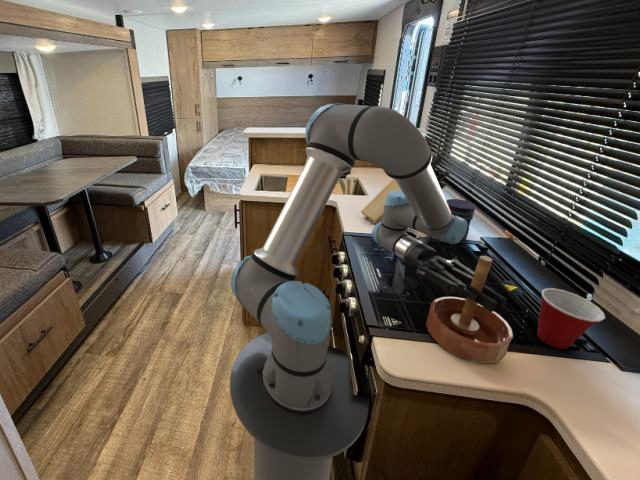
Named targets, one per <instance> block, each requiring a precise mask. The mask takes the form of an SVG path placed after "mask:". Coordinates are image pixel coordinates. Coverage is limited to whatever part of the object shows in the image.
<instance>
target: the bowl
mask: <svg viewBox="0 0 640 480" xmlns="http://www.w3.org/2000/svg"><path fill="white" fill-rule="evenodd" d="M465 301H466V298H464V297H459V296H441V297H438V298H435V299H434V300H433V301H432V302H431V303H430V306H429V310H428V313H427V317H426V320H425V326H426V329H427V332H428V333H429V335H430V336H431V337H432V339H433V340H434V341H435V342H436V343H438V344H439V345H440V346H441V347H442V348H443V349H445V350H447V351H448V352H451V353H452V354H454V355H455V356H457V357H460V358H463V359H465V360H468V361H472V362H475V363H476V362H477V363H481V364H490V363H491V364H494V363H497V362H499V361H502V360H504V358H505V356H506V355H507V354H508V353H507V352H508V350H509V349H510V346H511V343H512V341H513V339H514V334H513V329H512V327H511V326H510V325H509V323H508V321H507V320H505V319H504V318H503V317H502V316H501V315H500V314H499V313H497V312H496V311H495V310H494V311H493V312H490V311H489V310H487V309H486V308H484V307H483V306H481V305H480V304H477V307H476V310H475V313H474V316H473V319H474V320H475V321H476V322H477V323H478V324H479V330H478V332H477V333H476V334H465V333H462V332H460V331H458V330H457V329H455V328H454V327H453V326H452V325H451V323H450V319H451V316H452V315H453V314H461V313H462V310H463V307H464V304H465Z"/></svg>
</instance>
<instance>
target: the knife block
mask: <svg viewBox="0 0 640 480" xmlns="http://www.w3.org/2000/svg"><path fill="white" fill-rule="evenodd" d="M441 162H442V158H440V157H439V156H437V157H435V155H434V154H432V160H431V163H430V165H431V167H432V169H433V172H434V174H435V175H436V174H437V173H439V174H438V176H436V179H437V181H438V183H439V186H440V188H441V190H443V189H444V188H446V187H447V183H444V182H443V181H444V180H445V179H446V177H448V176H449V175H450V174H451V172H449V171H448V170H446V171H444V172H442V170H440V169H436V167H437V166H438V165H439V164H440V163H441ZM392 191H402V190H401V189H400V187H399V185H398V183H397V182H396V180H395V179H393V178H391V180H390V181H389V182H388V183H387V184H386V186H384V187H383V188H382V190H380V191H379V192H378V193H377V195H375V196H374V197H373V198H372V199H371V200H370V201H369V202H368V204H367V205H366V206H365V207H363V208H362V209H361V210H360V213H361V214H362V216H364V215H365V216H364V217H366V218H367V217H368V218H369V219H368V218H367V219H368V220H369V221H371V220H372V221H371V222H372V223H374V222H375V223H374V224H375V225H376V224H378V223H380V222H382V218H383V212H384V204H385V201H386V197H387V194H388V193H389V192H392Z"/></svg>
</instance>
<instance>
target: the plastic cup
mask: <svg viewBox="0 0 640 480" xmlns="http://www.w3.org/2000/svg"><path fill="white" fill-rule="evenodd" d="M539 311H540V312H539V316H538V325H537V332H536V334H537V337H538V338H539V340H540V341H542V342H543V343H544V344H546V345H548V346H550V347H552V348H554V349H560V350H567V349H568V348H569V347H571V346H572V345H573V344H574V343H575V342H576V341H578V340H579V339H580V337H581V336H582V335H584V334H585V333H586V332H587V330H589V329H590V328H591V327H592V326H594V324H596V323H600V322H602V321H603V320H605V319H606V315H605V313H604V311H602V309H601V308H600V307H599V306H597V305H596V304H594V303H593V302H591V301H590V300H588V299H586V298H584V297H582V296H580V295H578V294H576V293H573V292H570V291H568V290H564V289H559V288H555V287H547V288H544V289H542V290H541V306H540V310H539Z"/></svg>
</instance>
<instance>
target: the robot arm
mask: <svg viewBox="0 0 640 480" xmlns="http://www.w3.org/2000/svg"><path fill="white" fill-rule="evenodd" d="M305 133H306V135H305V137H304V138H305V142H306V144H307V146H306V148H305V153H306V156H307V160H306V161H305V164H304V166H303V167H302V169H301V172H300V174H299V175H298V178H297V179H296V182H295V184H294V185H293V188H292V189H291V192H290V193H289V196H288V197H287V199H286V201H285V203H284V205H283V207H282V209H281V211H280V213H279V215H278V217H277V219H276V221H275V223H274V225H273V227H272V228H271V231H270V233H269V234H268V237H267V239H266V240H265V242H264V244H263V246H262V247H261V248H260V247H259V248H258V249H255V250H254V251H253V253H252V255H248V256H245V257H243V260H240V261H239V262H237V264H236V266H235V267H234V268H233V271H232V273H231V277H230V288H231V291H232V294H233V295H234V297H235V298H236V299H237V301H238V303H239V304H240V306H241V307H243V308H245V310H246V311H247V312H248V313H249V314H250V315H251V316H252V317H253V318H254V319H255V320H256V321H257V322H258V324H260V326H261V327H263V329H264V330H265V331H266V333H269V334H270V335H271V337H272V350H271V352H270V354H269V356H268V358H267V360H266V363H265V366H262V367H258V368H257V369H256V370H257V372H262V371H263V383H264V387H265V390H266V392H267V394H268V396H269V397H270V398H271V400H272V401H273V402H274V403H275V404H276V405H278V406H279V407H280V408H282V409H284V410H286V411H288V412H291V413H295V414H310V413H313V412H316V411H318V410H320V409H321V408H322V407H324V406H325V405H326V403H327V402H328V400H329V398H330V395H331V391H332V377H331V372H330V369H329V366H328V363H327V360H326V357H327V349H328V346H329V342H330V341H329V340H330V334H331V329H332V309H331V304H330V302H329V300H328V298H327V297H326V295H325V294H324V293H323V292H322V291H321V290H320V289H319V288H317V286H314V285H313V284H310V283H308V282H305V283H302V281H301V280H295V279H296V278H297V276H298V274H299V273H298V270H297V266H296V265H297V264H296V263H297V262H298V259H299V258H300V256H301V254H302V252H303V250H304V248H305V246H306V244H307V243H308V240H309V239H310V236H311V235H312V232H313V231H314V228H315V227H316V225H317V223H318V221H319V219H320V217H321V215H322V213H323V211H324V210H325V207H326V205H327V204H328V201H329V199H330V198H331V195H332V194H333V192H334V190H335V188H336V186H337V184H338V183H339V180H340V179H341V177H342V175H343V174H345V173H348V172H351V171H352V169H353V168H354V166H355V164H356V163H357V161H359V162H364V163H369V164H372V165H374V166H377V167H379V168H380V169H382V171H383V172H384V174H386V176H387V177H389V178H391V179H395V180H396V182H397V183H398V185H399V187H400V189H401V190H402V191H392V192H389V193H388V194H387V197H386V201H385V204H384V212H383V218H382V222H380V223H378V224H375V225H374V227H373V229H372V230H371V238H372V240H373V241H374V242H376V243H377V244H378V245H379V246H380V247H382V248H384V249H385V250H387V251H389V252H391V253H392V254H393V255H395V256H396V257H398V258H399V259H401V260H402V261H404V262H405V263H407V264H408V265H409V266H411V267H412V268H414V269H415V270H416V275H417V276H419V277H421V278H424V279H426V280H427V281H429V282H431V283H432V284H434V285H436V286H438V287H439V288H441V289H443V290H444V291H446V292H448V293H449V294H451V295H457V296H456V297H458V298H463V296H464V297H465V298H467V297H468V298H470V299H471V300H473V301H475V302H476V303H478V304H480V305H481V306H483V307H484V308H486V309H487V310H489V311H490V312H493V311H494V312H495V309H496V308H498V309H500V310H502V309H503V310H504V308H505V305H506V303H507V300H508V298H507V297H505V296H503V295H501V294H500V293H498V292H496V291H494V290H493V289H492V288H490V287H489V286H487V285H485V284H484V287H483V290H482V292H480V291H479V290H477V289H475V288H474V287H472V286H471V282H472V279H473V276H474V273H475V271H473V270H472V269H471V268H469V267H467V266H465V265H464V264H463V263H461V262H460V261H459V260H458V259H457V258H455V257H452V258H451V259H446V258H445V257H443V256H440V255H438V254H437V251H436V249H434V248H433V247H431V246H429V244H428V245H426V244H424V243H423V242H421V241H419V240H417V239H415V238H414V237H412V236H410V235H408V234H407V233H406V231H407V229H411V230H414V231H416V232H418V233H420V234H423V235H425V236H427V235H428V236H430V237H433V238H432V239H435V240H438V241H440V242H443V243H447V244H449V245H456V244H459V243H458V242H460V241H461V239H462V238H463V237H464V235H465V233H466V230H467V221H466V220H464V219H462V218H460V217H458V216H454V215H452V213H451V211H450V209H449V207H448V204H447V202H446V201H447V199H446V198H445V195H444V193H443V191H442V190H443V189H442V190H441V188H440V186H439V183H438V181H437V179H436V178H437V176H436V174H434V172H433V169H432V167H431V165H430V163H431V160H432V155H433V154H432V151H431V148H430V145H429V143H428V141H427V140H426V138H425V136H424V135H423V134H422V132H421V131H420V130H419V128H418V127H416V125H414V124H413V122H411V121H410V120H409V119H408V118H407V117H405V116H404V115H403V114H401V112H398V111H396V110H395V109H392V108H389V107H386V106H380V105H379V106H378V105H376V106H375V105H374V106H373V105H360V104H349V103H348V104H347V103H344V102H338V103H337V102H336V103H328V104H325V105H322V106H320V107H319V108H317V110H315V111H314V112H313V113H312V115H311V116H310V118H309V119H308V121H307V123H306V126H305ZM456 293H457V294H456Z"/></svg>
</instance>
